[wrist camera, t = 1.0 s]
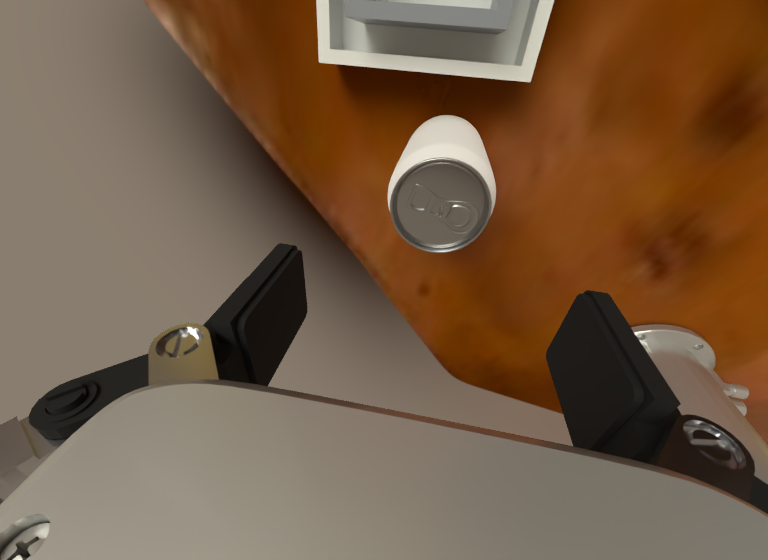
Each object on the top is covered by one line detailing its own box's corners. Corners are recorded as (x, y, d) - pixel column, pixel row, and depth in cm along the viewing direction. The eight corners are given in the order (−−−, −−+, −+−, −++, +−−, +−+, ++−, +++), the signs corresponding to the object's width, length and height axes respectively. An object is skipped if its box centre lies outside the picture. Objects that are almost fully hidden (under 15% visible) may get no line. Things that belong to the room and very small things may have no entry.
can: (459, 203, 30) (461, 275, 20) (395, 174, 29) (366, 233, 19) (498, 134, 26) (526, 181, 16) (426, 99, 25) (410, 126, 16)
